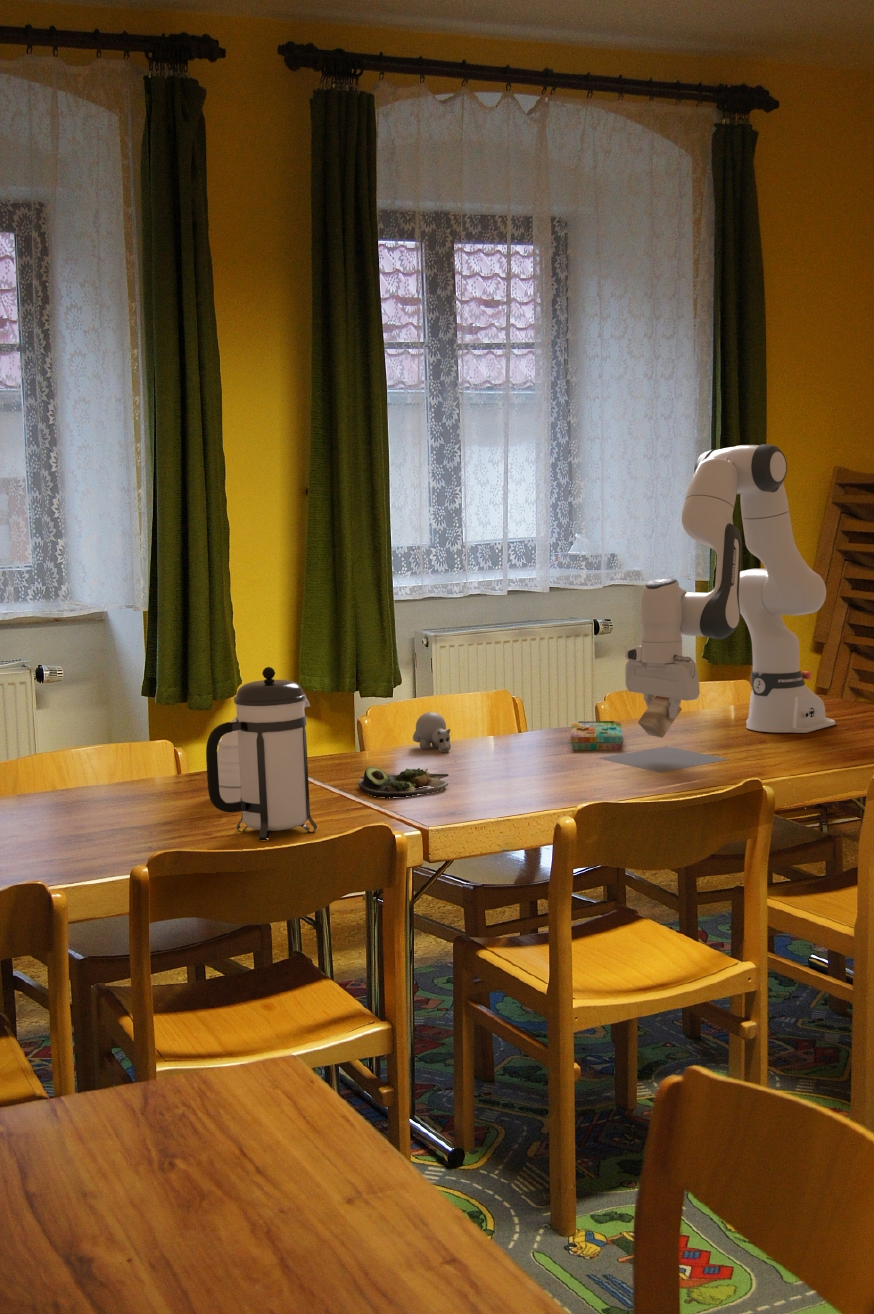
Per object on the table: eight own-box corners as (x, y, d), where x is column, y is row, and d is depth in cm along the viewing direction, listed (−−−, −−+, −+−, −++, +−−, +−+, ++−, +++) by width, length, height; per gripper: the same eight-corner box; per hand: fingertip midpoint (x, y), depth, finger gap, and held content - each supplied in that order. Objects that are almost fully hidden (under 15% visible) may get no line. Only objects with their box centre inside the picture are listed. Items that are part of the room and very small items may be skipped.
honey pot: (287, 792, 265) (283, 705, 263) (254, 806, 254) (249, 716, 251) (234, 788, 270) (229, 703, 268) (199, 802, 259) (194, 713, 257)
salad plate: (432, 775, 278) (432, 754, 277) (468, 791, 262) (468, 769, 261) (348, 786, 270) (347, 765, 270) (380, 803, 254) (379, 780, 253)
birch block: (651, 725, 278) (671, 696, 280) (637, 722, 282) (656, 694, 284) (662, 737, 280) (682, 709, 282) (648, 735, 284) (667, 706, 286)
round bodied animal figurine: (431, 765, 300) (436, 734, 296) (407, 739, 309) (412, 708, 305) (458, 760, 303) (463, 729, 300) (433, 735, 312) (438, 704, 309)
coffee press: (251, 819, 243) (242, 661, 240) (330, 822, 239) (322, 661, 235) (209, 843, 227) (199, 674, 223) (293, 847, 222) (284, 674, 218)
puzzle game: (570, 733, 296) (571, 718, 315) (571, 753, 296) (572, 737, 316) (622, 732, 294) (620, 717, 314) (622, 752, 295) (620, 736, 314)
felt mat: (666, 747, 297) (666, 746, 297) (729, 760, 281) (729, 759, 281) (598, 759, 287) (598, 758, 287) (660, 773, 270) (660, 772, 270)
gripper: (706, 656, 274) (706, 720, 275) (641, 648, 291) (642, 709, 293) (684, 658, 270) (684, 724, 272) (620, 651, 288) (620, 712, 289)
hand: (662, 716), depth 282 cm, fingers closed on birch block, 4 cm apart
